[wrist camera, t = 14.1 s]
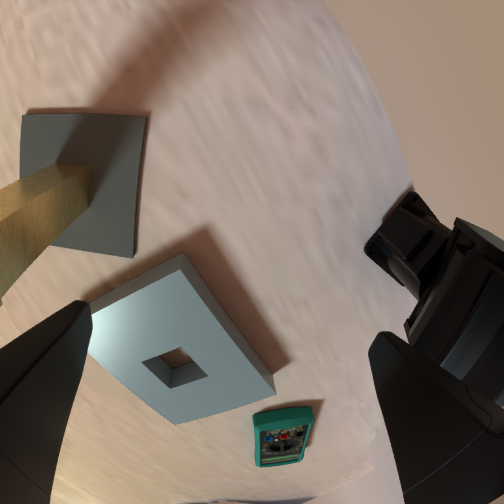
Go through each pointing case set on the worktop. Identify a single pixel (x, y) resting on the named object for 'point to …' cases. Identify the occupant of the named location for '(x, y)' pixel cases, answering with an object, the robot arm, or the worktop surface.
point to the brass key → (38, 215)
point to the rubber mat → (92, 173)
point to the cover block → (176, 345)
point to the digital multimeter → (281, 435)
